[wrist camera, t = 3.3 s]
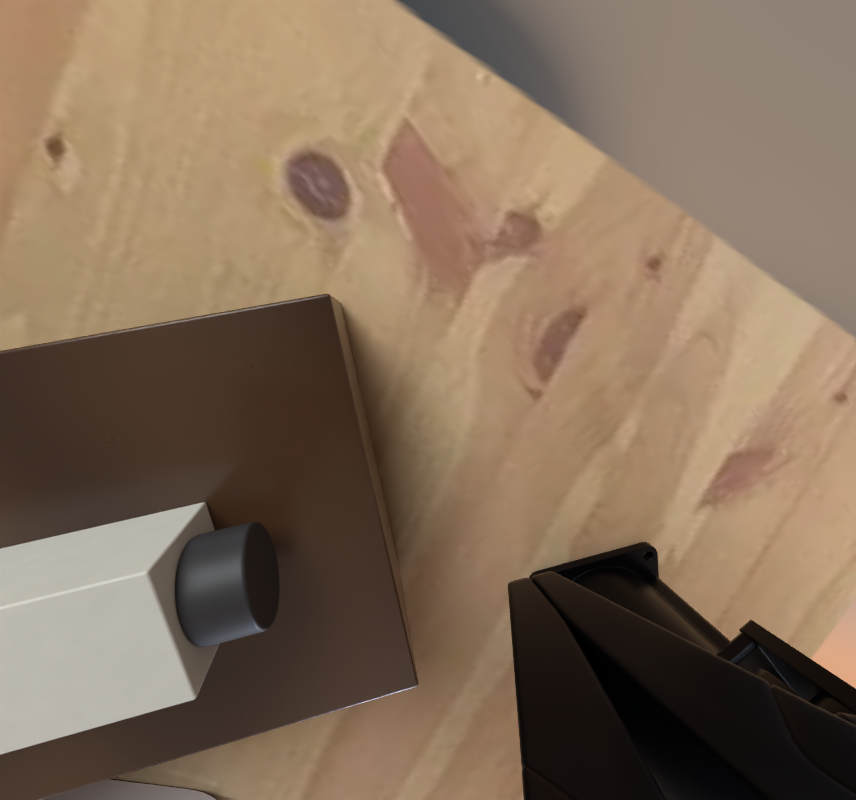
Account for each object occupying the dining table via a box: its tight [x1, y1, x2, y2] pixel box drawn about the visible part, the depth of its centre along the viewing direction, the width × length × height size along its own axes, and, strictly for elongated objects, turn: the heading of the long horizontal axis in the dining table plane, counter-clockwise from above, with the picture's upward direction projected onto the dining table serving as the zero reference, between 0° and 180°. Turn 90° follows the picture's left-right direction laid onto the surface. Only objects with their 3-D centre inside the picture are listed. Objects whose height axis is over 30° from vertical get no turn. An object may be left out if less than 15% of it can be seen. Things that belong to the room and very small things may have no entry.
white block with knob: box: [0, 502, 280, 755], centre depth 9 cm, size 9×3×3 cm, turn 100°
